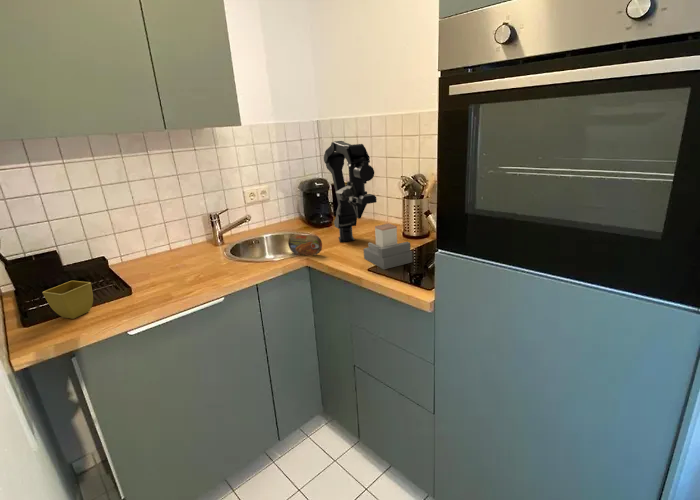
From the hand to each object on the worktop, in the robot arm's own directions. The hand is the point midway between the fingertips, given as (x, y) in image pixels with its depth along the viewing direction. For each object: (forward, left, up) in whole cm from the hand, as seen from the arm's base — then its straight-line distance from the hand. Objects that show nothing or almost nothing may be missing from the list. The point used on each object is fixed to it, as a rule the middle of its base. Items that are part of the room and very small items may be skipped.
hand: (359, 218), depth 148 cm
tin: (-2, -22, -13) cm, 26 cm away
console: (+15, +7, -13) cm, 22 cm away
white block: (+15, +7, -9) cm, 19 cm away
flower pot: (+33, -91, -13) cm, 98 cm away
